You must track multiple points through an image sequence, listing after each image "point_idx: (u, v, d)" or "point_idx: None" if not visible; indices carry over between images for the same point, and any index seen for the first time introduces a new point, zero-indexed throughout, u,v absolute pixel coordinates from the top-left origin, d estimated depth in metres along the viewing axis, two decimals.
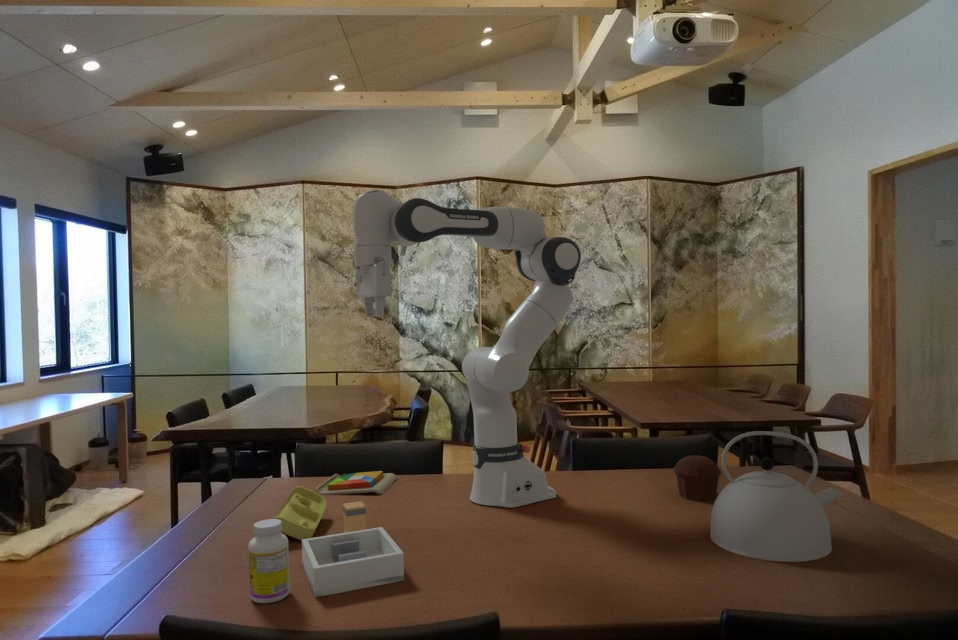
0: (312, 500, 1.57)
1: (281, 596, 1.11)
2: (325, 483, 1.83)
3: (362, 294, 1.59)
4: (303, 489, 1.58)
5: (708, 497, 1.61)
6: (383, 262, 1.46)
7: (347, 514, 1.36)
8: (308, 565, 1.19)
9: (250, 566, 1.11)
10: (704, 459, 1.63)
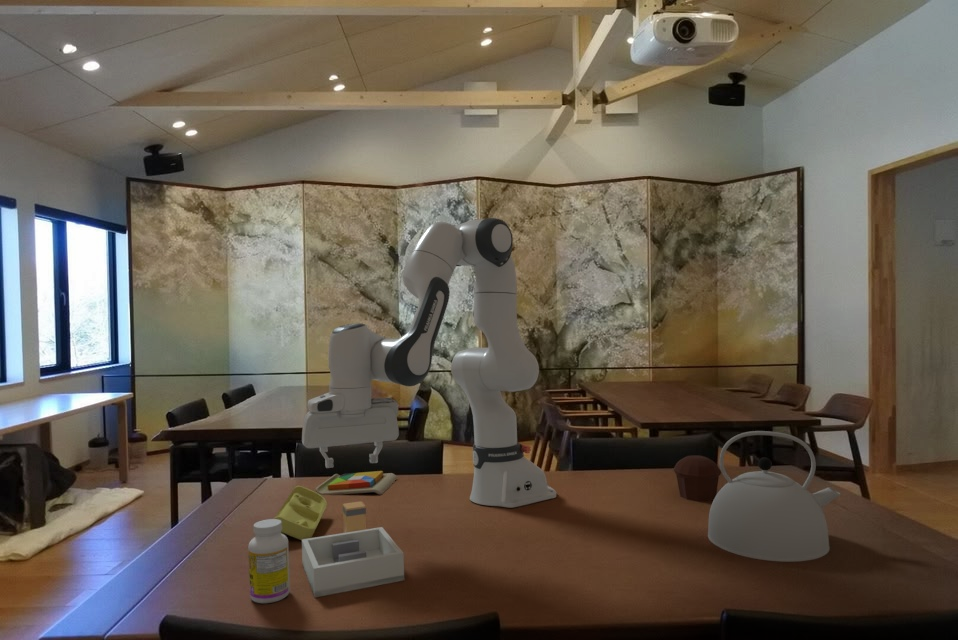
0: (312, 500, 1.57)
1: (281, 596, 1.11)
2: (325, 483, 1.83)
3: (332, 442, 1.35)
4: (303, 489, 1.58)
5: (708, 497, 1.61)
6: None
7: (347, 514, 1.36)
8: (308, 565, 1.19)
9: (250, 566, 1.11)
10: (704, 459, 1.63)
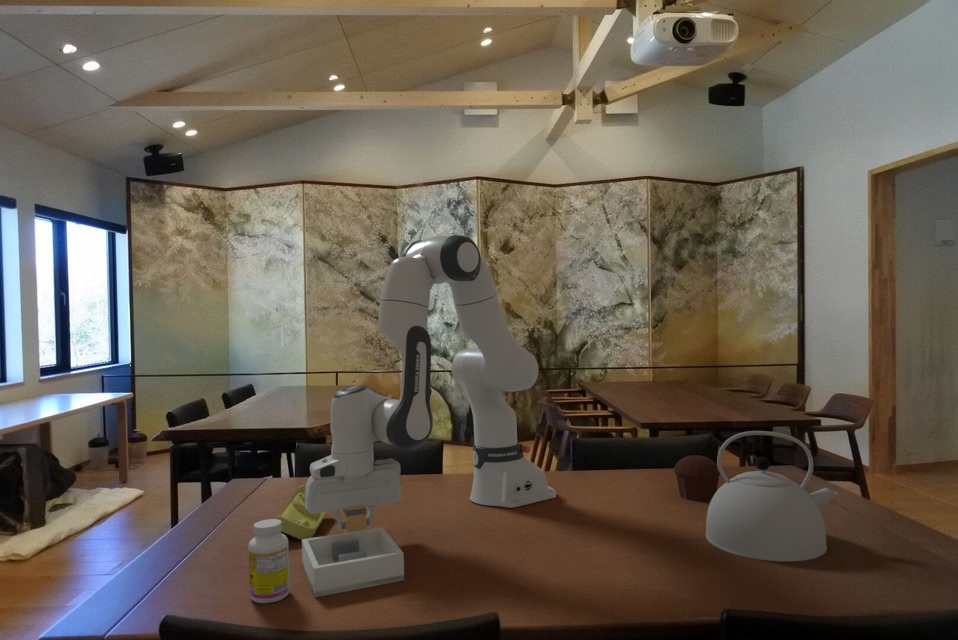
0: None
1: (281, 596, 1.11)
2: None
3: (335, 506, 1.35)
4: None
5: (708, 497, 1.61)
6: None
7: (347, 514, 1.36)
8: (308, 565, 1.19)
9: (250, 566, 1.11)
10: (704, 459, 1.63)
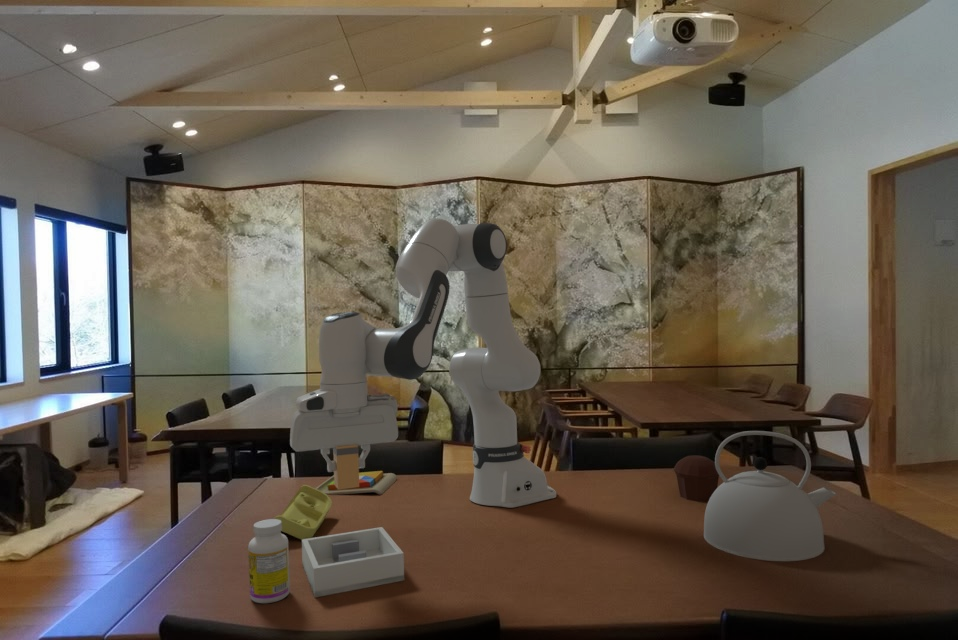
0: (318, 499, 1.57)
1: (281, 596, 1.11)
2: (325, 483, 1.83)
3: (323, 444, 1.21)
4: (309, 488, 1.59)
5: (708, 497, 1.61)
6: None
7: (337, 453, 1.22)
8: (308, 565, 1.19)
9: (250, 566, 1.11)
10: (704, 459, 1.63)
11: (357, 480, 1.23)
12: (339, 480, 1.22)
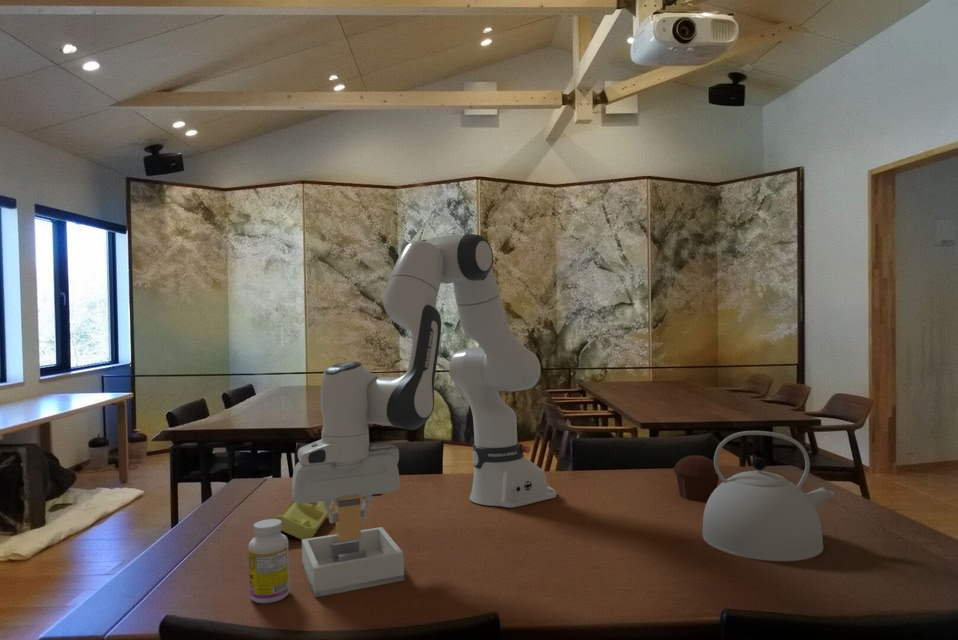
0: None
1: (281, 596, 1.11)
2: None
3: (325, 496, 1.21)
4: None
5: (708, 497, 1.61)
6: None
7: (339, 505, 1.22)
8: (308, 565, 1.19)
9: (250, 566, 1.11)
10: (704, 459, 1.63)
11: (359, 531, 1.23)
12: (341, 532, 1.22)
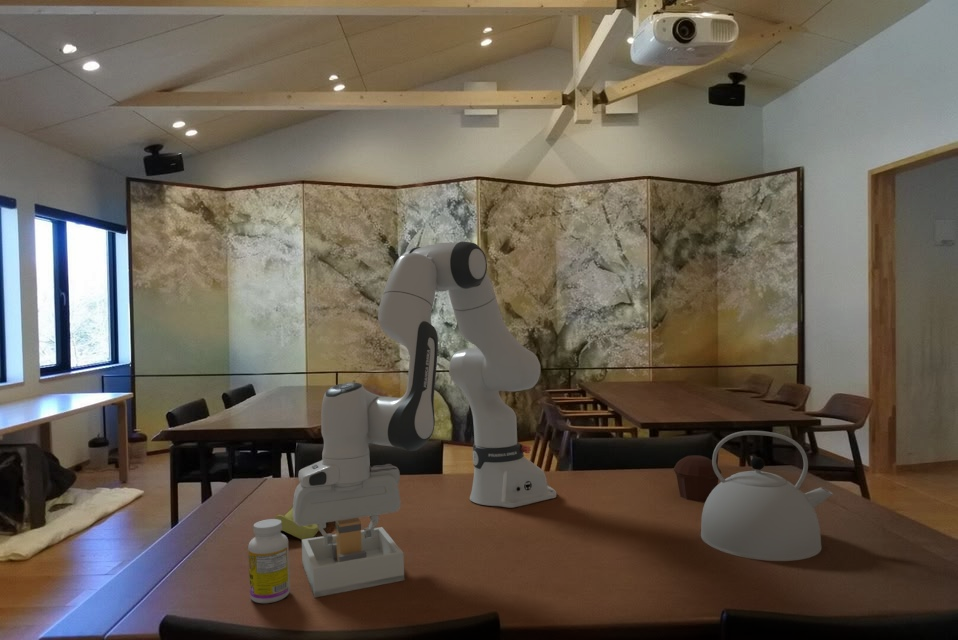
0: None
1: (281, 596, 1.11)
2: None
3: (326, 518, 1.21)
4: None
5: None
6: None
7: (340, 531, 1.22)
8: (308, 565, 1.19)
9: (250, 566, 1.11)
10: (704, 459, 1.63)
11: None
12: None
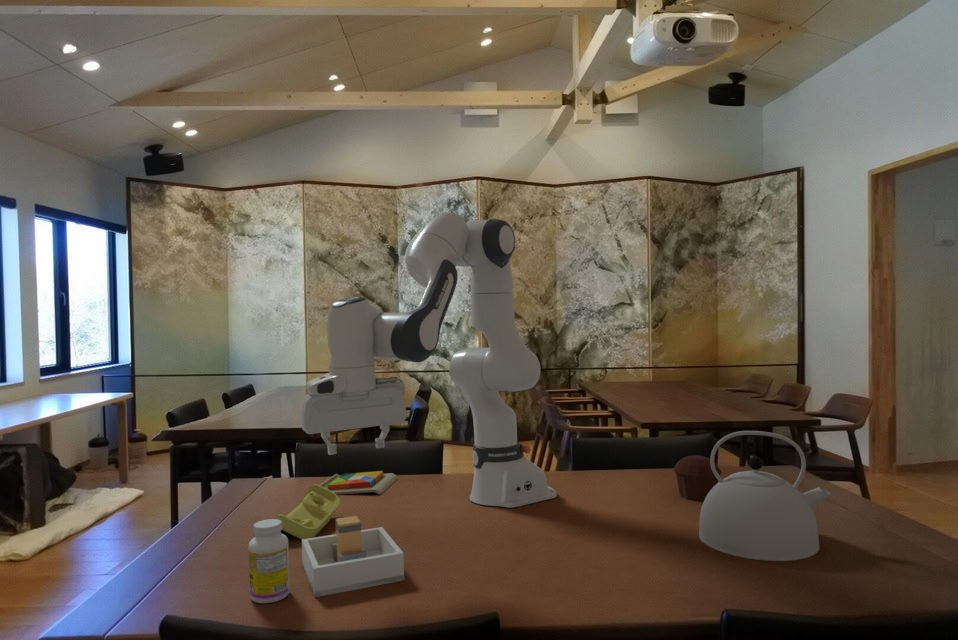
0: (327, 499, 1.57)
1: (281, 596, 1.11)
2: (325, 483, 1.83)
3: (334, 426, 1.24)
4: (319, 487, 1.59)
5: None
6: None
7: (340, 531, 1.22)
8: (308, 565, 1.19)
9: (250, 566, 1.11)
10: (704, 459, 1.63)
11: None
12: None
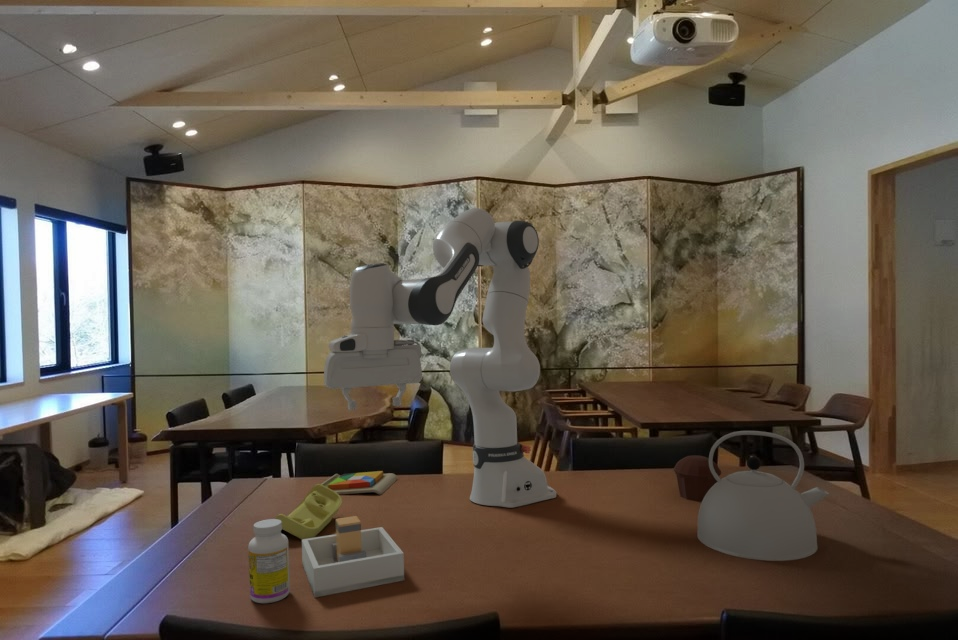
0: (329, 499, 1.57)
1: (281, 596, 1.11)
2: (325, 483, 1.83)
3: (355, 383, 1.32)
4: (322, 487, 1.59)
5: None
6: None
7: (340, 531, 1.22)
8: (308, 565, 1.19)
9: (250, 566, 1.11)
10: (704, 459, 1.63)
11: None
12: None
